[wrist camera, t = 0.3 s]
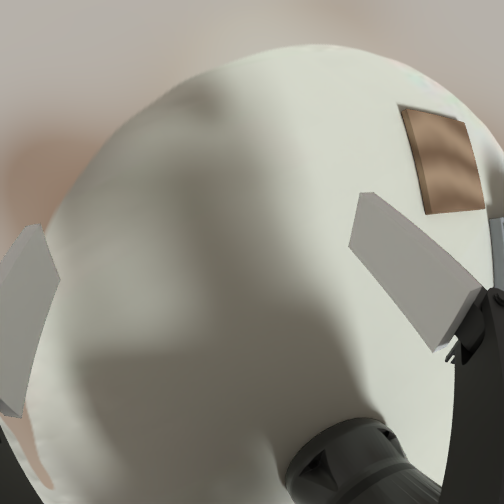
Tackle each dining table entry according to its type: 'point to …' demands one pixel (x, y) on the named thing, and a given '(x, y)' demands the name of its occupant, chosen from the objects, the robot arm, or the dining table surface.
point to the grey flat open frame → (498, 251)
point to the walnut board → (444, 163)
